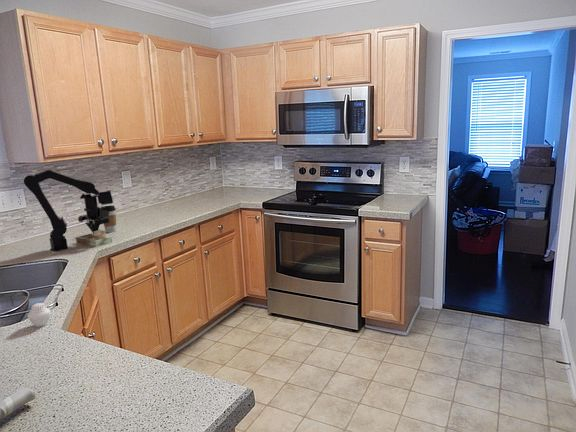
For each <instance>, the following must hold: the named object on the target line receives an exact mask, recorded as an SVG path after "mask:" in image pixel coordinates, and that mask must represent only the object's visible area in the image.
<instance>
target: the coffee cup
mask: <svg viewBox="0 0 576 432" xmlns="http://www.w3.org/2000/svg"><path fill="white" fill-rule="evenodd" d="M100 208H102V210H104V211H109V217H108V218H109V222H108V223H104V224H103V226H104V230H105V233H106V234H109V233H115V232H117V214H116V210H117V209H116V206H115V205H111V204H110V205H105V206H104V205H102V206H100ZM102 217H103V216H102Z"/></svg>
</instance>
